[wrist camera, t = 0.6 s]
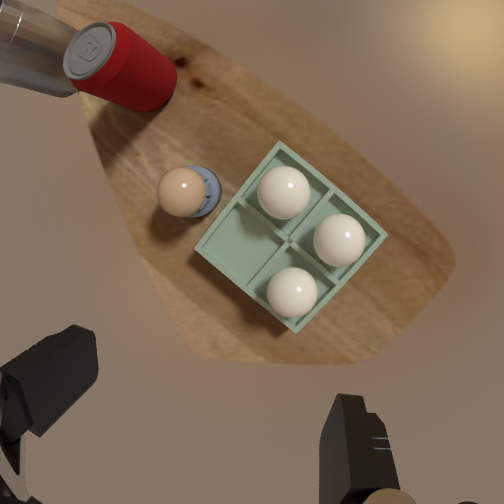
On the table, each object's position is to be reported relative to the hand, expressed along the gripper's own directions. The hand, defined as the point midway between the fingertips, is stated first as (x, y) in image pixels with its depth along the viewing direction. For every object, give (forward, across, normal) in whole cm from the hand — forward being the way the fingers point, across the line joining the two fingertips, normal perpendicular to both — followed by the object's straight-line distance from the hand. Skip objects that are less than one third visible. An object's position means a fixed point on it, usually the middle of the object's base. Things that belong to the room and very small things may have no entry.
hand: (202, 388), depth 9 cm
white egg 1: (+20, 0, -6) cm, 21 cm away
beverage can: (+23, +16, -15) cm, 32 cm away
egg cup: (+23, +8, -4) cm, 24 cm away
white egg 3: (+20, -6, -2) cm, 21 cm away
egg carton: (+22, -2, -1) cm, 23 cm away
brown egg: (+21, +8, -4) cm, 23 cm away
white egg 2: (+20, -3, +3) cm, 21 cm away
